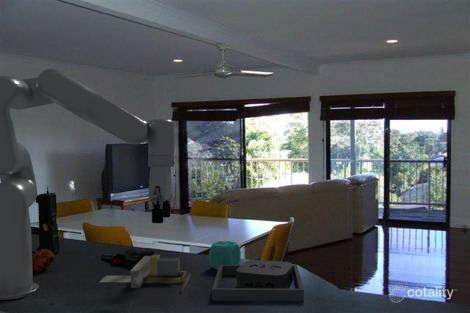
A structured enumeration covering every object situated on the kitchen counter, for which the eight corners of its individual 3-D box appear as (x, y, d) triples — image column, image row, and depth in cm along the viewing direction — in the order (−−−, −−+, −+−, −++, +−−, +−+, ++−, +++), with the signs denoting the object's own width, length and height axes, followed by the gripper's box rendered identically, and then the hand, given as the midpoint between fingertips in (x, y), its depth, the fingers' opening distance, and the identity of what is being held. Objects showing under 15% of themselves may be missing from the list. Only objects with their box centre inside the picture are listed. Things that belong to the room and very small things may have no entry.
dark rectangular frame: (212, 300, 124) (211, 289, 124) (219, 274, 148) (219, 264, 148) (303, 301, 123) (303, 289, 123) (296, 274, 147) (296, 264, 147)
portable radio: (52, 257, 172) (50, 188, 171) (35, 257, 172) (33, 188, 171) (60, 252, 180) (58, 186, 178) (44, 252, 180) (42, 186, 179)
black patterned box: (132, 244, 173) (96, 252, 161) (167, 246, 160) (131, 254, 149) (133, 258, 173) (97, 267, 161) (168, 261, 160) (132, 271, 149)
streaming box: (294, 279, 143) (294, 262, 143) (284, 294, 129) (284, 276, 129) (248, 275, 147) (248, 259, 147) (233, 289, 134) (233, 271, 133)
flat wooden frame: (89, 292, 132) (88, 270, 132) (107, 275, 148) (107, 255, 148) (181, 292, 131) (181, 270, 130) (190, 275, 147) (190, 256, 146)
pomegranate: (58, 274, 157) (38, 254, 160) (66, 259, 155) (46, 239, 157) (40, 283, 151) (20, 262, 154) (48, 267, 148) (28, 246, 151)
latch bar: (180, 278, 140) (179, 254, 140) (177, 281, 137) (177, 257, 136) (153, 277, 141) (153, 254, 141) (150, 281, 137) (150, 257, 137)
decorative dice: (219, 263, 161) (219, 239, 161) (241, 265, 158) (240, 241, 158) (208, 269, 154) (208, 244, 154) (230, 271, 151) (230, 247, 150)
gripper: (155, 160, 147) (155, 215, 147) (140, 163, 129) (141, 225, 130) (179, 160, 146) (179, 215, 147) (168, 163, 129) (168, 225, 130)
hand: (161, 220), depth 138 cm, fingers open, 9 cm apart
